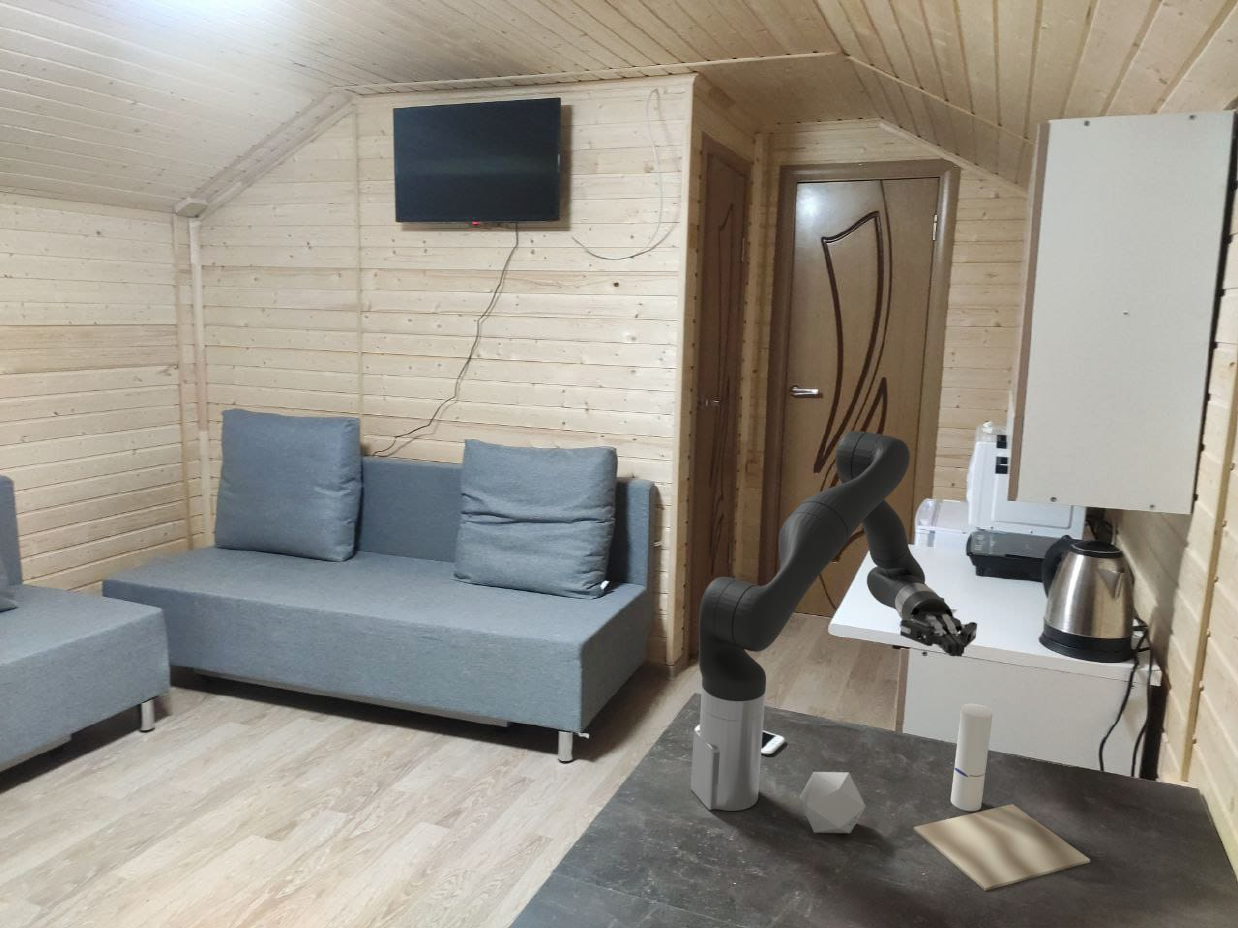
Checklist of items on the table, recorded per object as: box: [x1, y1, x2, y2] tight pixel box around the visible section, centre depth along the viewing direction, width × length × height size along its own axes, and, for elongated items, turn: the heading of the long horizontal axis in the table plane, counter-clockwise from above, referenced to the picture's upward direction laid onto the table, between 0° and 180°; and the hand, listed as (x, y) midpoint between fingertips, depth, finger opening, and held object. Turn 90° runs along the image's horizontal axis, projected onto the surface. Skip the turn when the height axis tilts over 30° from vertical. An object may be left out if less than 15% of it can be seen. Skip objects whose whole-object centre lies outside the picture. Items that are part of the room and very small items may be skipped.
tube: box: [950, 703, 993, 812], centre depth 138 cm, size 4×4×15 cm
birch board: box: [913, 804, 1091, 892], centre depth 129 cm, size 18×14×1 cm
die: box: [798, 771, 867, 834], centre depth 131 cm, size 8×9×10 cm
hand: (957, 650), depth 145 cm, fingers closed
